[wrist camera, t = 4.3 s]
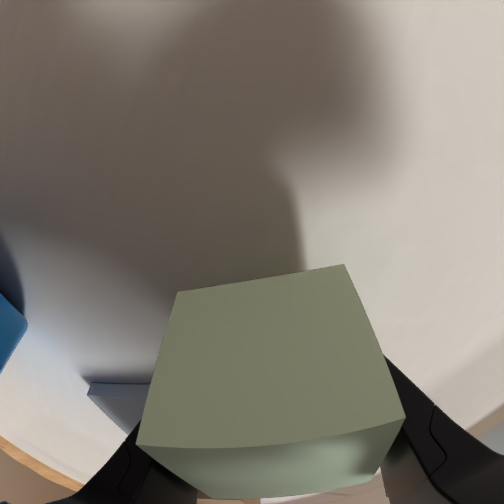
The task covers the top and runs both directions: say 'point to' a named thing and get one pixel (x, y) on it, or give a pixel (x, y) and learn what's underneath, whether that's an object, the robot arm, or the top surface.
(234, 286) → the sage cube
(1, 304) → the alarm clock
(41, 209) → the top surface
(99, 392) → the mat
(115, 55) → the top surface
